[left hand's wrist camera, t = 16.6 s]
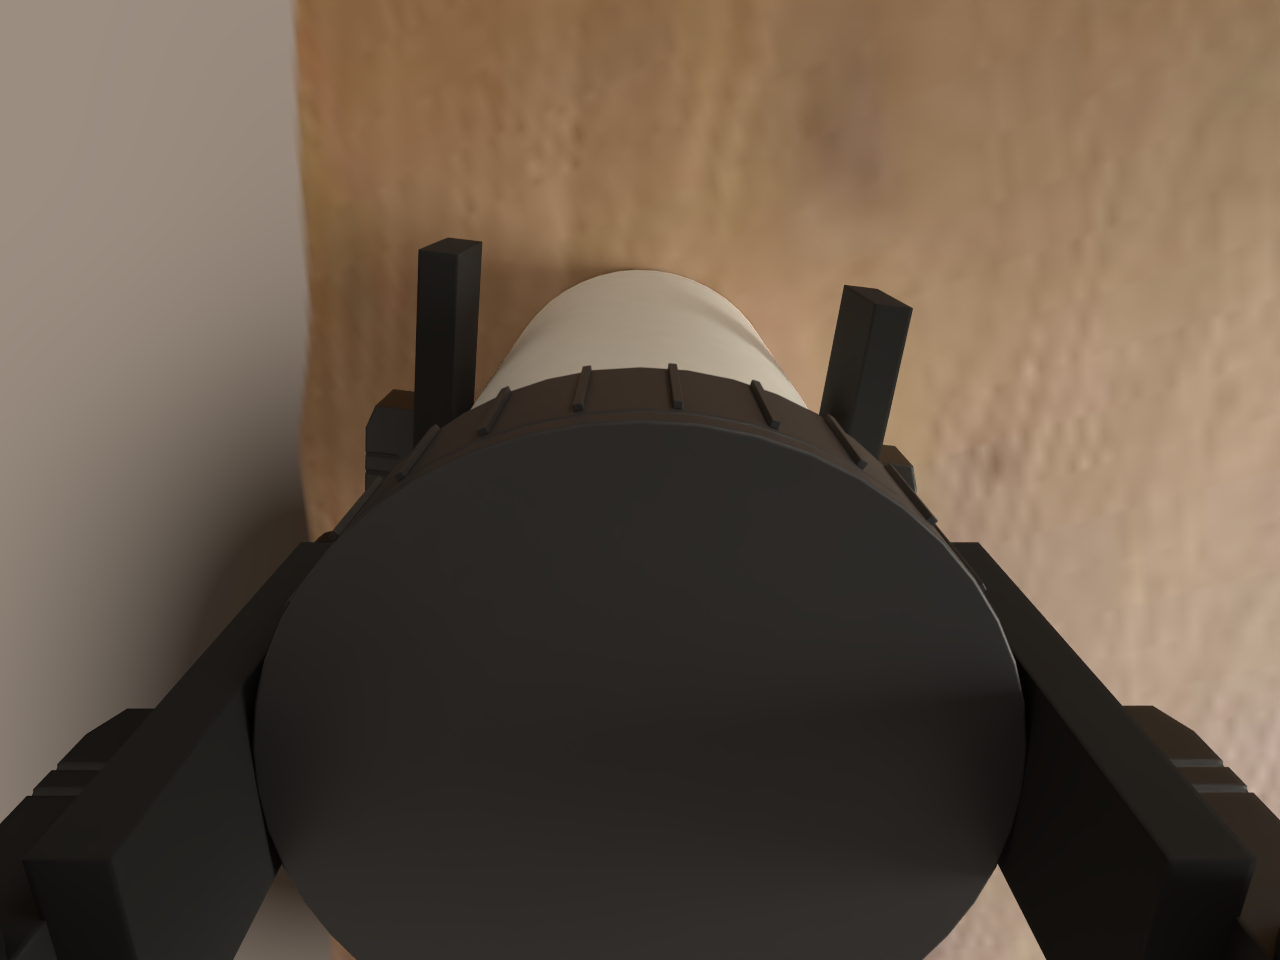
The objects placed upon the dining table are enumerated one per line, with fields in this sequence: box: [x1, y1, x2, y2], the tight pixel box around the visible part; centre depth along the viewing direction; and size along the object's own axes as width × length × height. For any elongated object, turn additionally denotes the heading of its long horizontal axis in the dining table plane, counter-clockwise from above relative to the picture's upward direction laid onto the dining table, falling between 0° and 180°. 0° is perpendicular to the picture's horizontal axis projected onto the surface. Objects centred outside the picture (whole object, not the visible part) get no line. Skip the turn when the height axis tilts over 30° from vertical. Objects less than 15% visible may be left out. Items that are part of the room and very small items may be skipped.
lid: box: [252, 363, 1027, 960], centre depth 11 cm, size 9×9×2 cm
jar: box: [471, 270, 809, 410], centre depth 18 cm, size 8×8×16 cm
